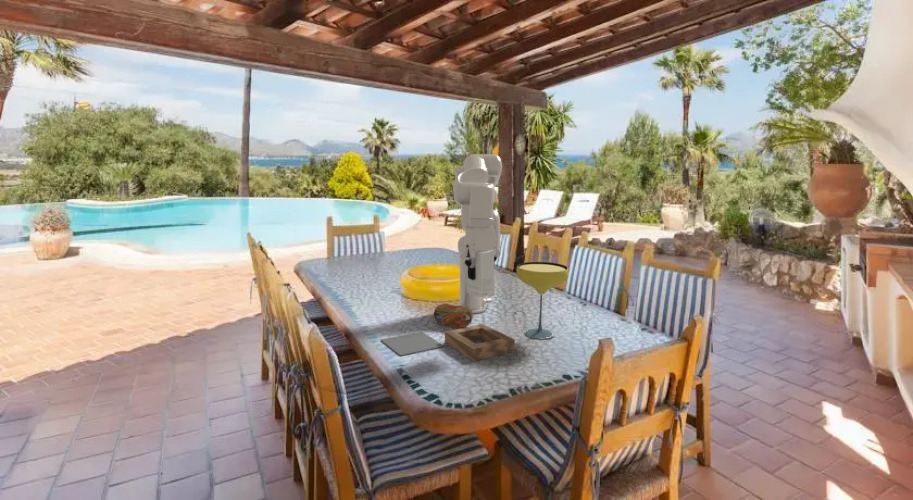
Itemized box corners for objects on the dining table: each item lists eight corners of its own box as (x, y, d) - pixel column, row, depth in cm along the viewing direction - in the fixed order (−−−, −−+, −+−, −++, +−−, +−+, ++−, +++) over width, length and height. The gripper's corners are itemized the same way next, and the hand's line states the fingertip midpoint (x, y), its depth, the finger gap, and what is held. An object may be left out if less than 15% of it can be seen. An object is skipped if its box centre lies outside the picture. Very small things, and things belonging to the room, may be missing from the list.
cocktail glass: (567, 329, 177) (571, 263, 173) (562, 346, 160) (565, 274, 156) (520, 323, 183) (522, 260, 179) (509, 339, 166) (511, 269, 162)
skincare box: (494, 295, 155) (496, 250, 152) (479, 298, 151) (481, 252, 149) (479, 289, 161) (480, 246, 159) (464, 292, 158) (465, 248, 155)
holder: (483, 334, 171) (483, 324, 170) (514, 351, 156) (514, 339, 155) (444, 342, 162) (444, 331, 162) (473, 361, 147) (474, 349, 147)
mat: (421, 332, 172) (421, 331, 172) (444, 346, 159) (444, 345, 159) (380, 340, 164) (380, 339, 164) (400, 356, 151) (400, 355, 151)
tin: (433, 324, 182) (433, 303, 180) (436, 322, 184) (436, 301, 183) (470, 329, 176) (471, 307, 175) (473, 326, 179) (473, 305, 178)
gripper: (495, 220, 160) (494, 272, 163) (451, 223, 151) (451, 278, 154) (509, 223, 153) (507, 277, 157) (464, 226, 144) (463, 283, 148)
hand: (480, 277), depth 155 cm, fingers closed on skincare box, 5 cm apart
